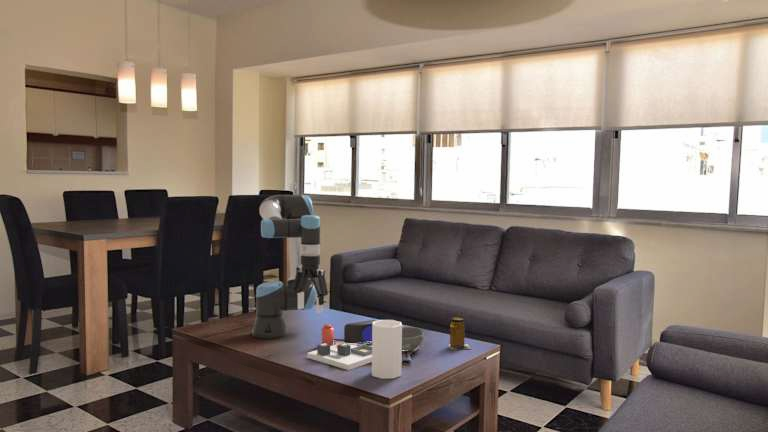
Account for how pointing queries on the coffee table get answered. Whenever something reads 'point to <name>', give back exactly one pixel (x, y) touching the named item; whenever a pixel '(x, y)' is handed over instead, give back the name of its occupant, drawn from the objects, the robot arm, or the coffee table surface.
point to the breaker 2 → (344, 349)
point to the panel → (355, 359)
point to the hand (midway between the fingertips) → (310, 310)
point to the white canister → (386, 349)
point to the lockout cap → (328, 334)
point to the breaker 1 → (323, 349)
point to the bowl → (411, 338)
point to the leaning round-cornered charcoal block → (358, 332)
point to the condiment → (457, 334)
